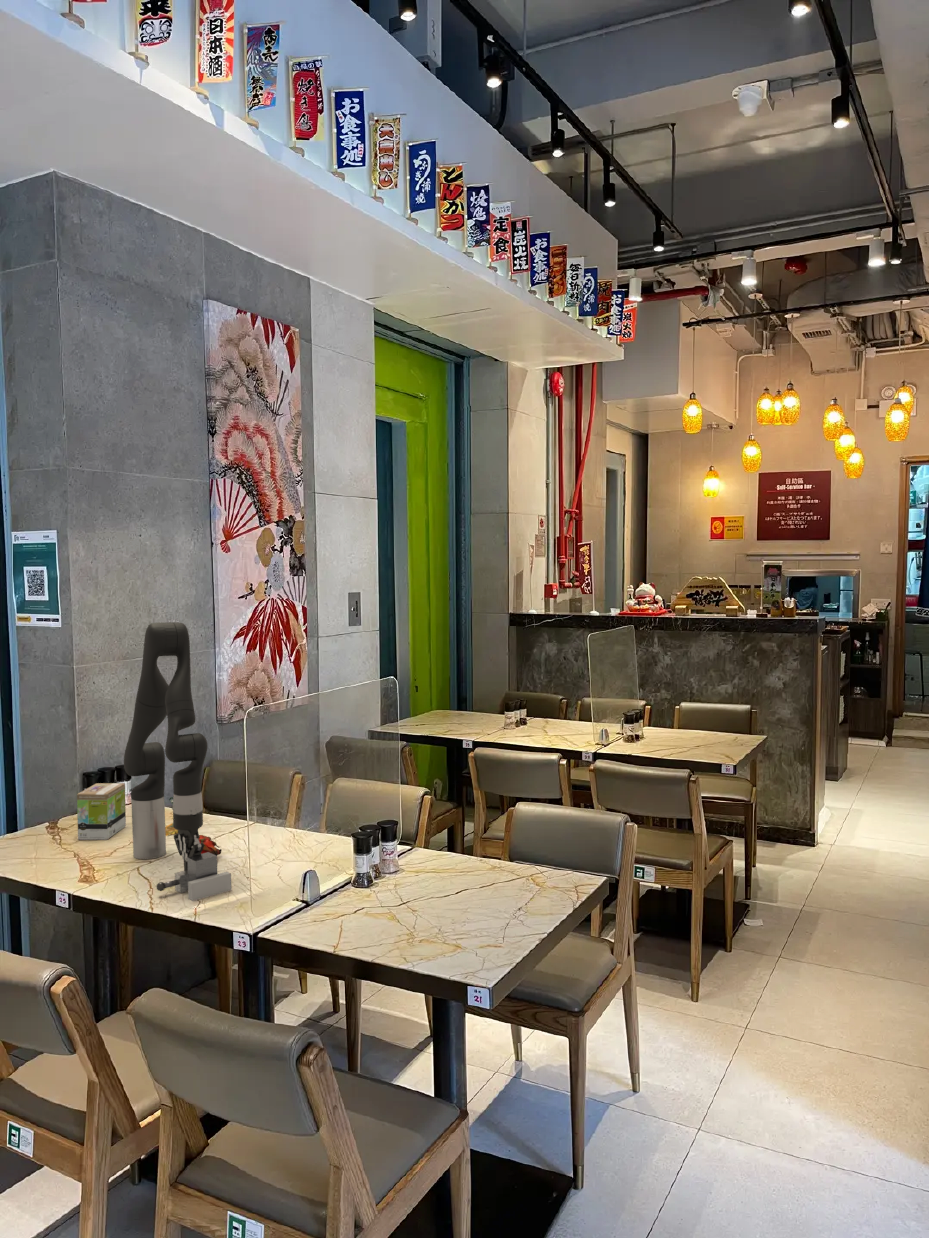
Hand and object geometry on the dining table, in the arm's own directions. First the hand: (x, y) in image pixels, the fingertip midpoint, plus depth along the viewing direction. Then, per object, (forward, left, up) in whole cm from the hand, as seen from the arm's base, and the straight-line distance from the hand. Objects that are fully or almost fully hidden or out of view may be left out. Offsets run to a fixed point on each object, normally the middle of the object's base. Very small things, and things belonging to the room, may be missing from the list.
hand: (189, 873), depth 248 cm
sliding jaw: (+3, -3, -3) cm, 5 cm away
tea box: (-67, +4, -4) cm, 67 cm away
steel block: (+7, 0, -3) cm, 8 cm away
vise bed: (+1, 0, -4) cm, 4 cm away
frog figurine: (-53, +25, -5) cm, 59 cm away
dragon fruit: (-17, +13, -4) cm, 22 cm away
